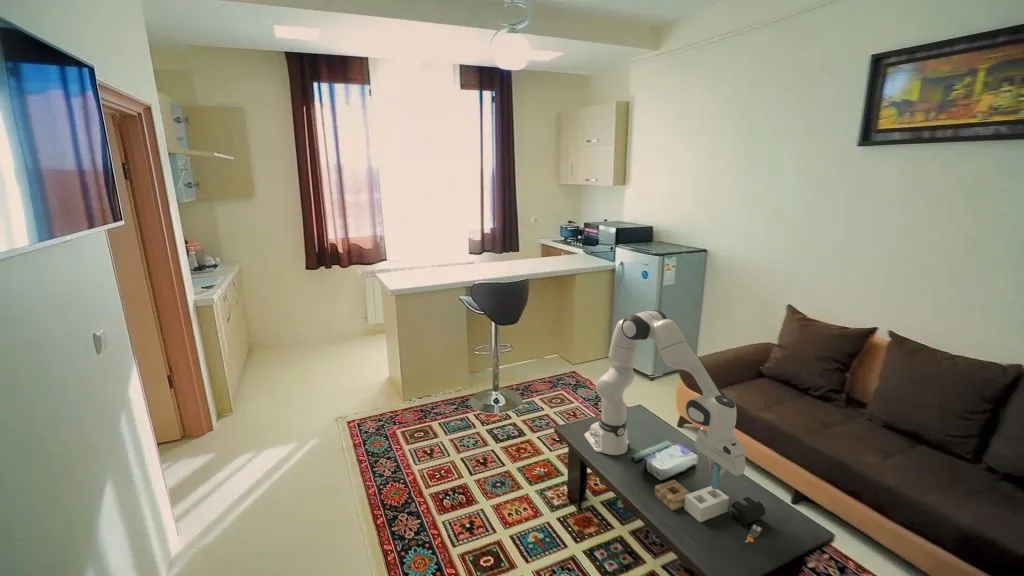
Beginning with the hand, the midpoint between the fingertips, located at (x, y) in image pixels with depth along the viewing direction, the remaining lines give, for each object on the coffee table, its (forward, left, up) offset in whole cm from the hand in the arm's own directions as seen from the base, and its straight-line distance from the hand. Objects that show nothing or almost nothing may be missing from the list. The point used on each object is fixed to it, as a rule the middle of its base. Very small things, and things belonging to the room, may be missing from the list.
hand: (716, 471), depth 174 cm
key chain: (+17, +1, -16) cm, 23 cm away
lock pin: (0, 0, -7) cm, 7 cm away
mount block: (-10, -11, -16) cm, 21 cm away
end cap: (+10, +6, -16) cm, 20 cm away
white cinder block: (0, -4, -16) cm, 16 cm away
